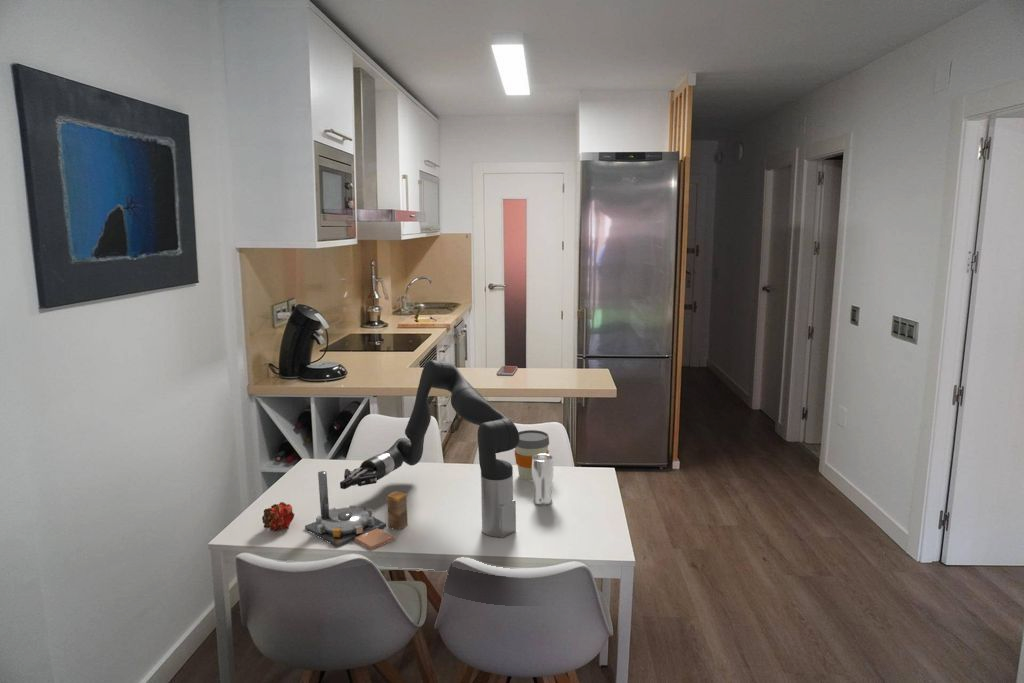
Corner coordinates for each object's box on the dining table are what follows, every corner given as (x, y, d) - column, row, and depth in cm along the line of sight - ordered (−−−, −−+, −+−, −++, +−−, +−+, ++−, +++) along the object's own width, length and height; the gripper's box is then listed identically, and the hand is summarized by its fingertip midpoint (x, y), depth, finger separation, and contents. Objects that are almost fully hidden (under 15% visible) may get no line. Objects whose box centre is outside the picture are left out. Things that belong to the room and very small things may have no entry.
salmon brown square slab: (394, 539, 195) (394, 536, 195) (371, 549, 189) (371, 546, 189) (377, 531, 200) (377, 528, 200) (354, 540, 195) (354, 537, 194)
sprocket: (380, 511, 210) (378, 462, 207) (366, 537, 194) (363, 484, 191) (326, 511, 211) (323, 462, 208) (307, 536, 195) (303, 483, 192)
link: (407, 524, 204) (406, 493, 202) (399, 530, 201) (398, 498, 199) (396, 522, 206) (395, 491, 204) (388, 527, 203) (386, 496, 201)
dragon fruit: (265, 543, 197) (287, 530, 209) (286, 528, 196) (308, 516, 207) (250, 518, 198) (273, 506, 210) (271, 503, 196) (293, 492, 208)
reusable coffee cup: (535, 485, 232) (535, 443, 230) (506, 477, 240) (506, 436, 237) (556, 474, 242) (556, 434, 239) (527, 466, 250) (527, 427, 247)
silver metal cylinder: (528, 503, 218) (527, 459, 215) (537, 495, 224) (537, 452, 221) (548, 507, 215) (547, 462, 212) (557, 499, 221) (557, 455, 218)
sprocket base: (386, 526, 203) (386, 523, 203) (337, 547, 191) (336, 543, 191) (353, 510, 215) (353, 507, 214) (305, 528, 202) (304, 525, 202)
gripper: (361, 453, 226) (324, 470, 211) (393, 459, 220) (358, 478, 205) (362, 474, 227) (326, 493, 212) (394, 481, 221) (359, 501, 206)
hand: (342, 486), depth 209 cm, fingers closed
